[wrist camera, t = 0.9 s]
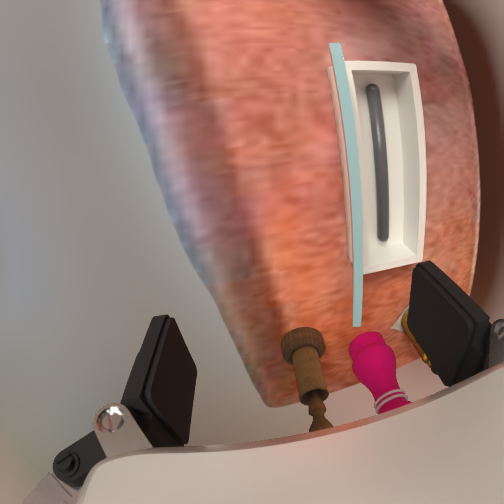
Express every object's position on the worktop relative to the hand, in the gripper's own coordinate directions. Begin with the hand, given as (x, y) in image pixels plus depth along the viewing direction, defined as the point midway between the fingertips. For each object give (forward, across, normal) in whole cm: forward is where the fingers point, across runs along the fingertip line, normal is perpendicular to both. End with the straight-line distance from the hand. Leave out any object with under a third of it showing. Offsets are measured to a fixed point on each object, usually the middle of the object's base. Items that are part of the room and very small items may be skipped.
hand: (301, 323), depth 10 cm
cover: (+16, -8, 0) cm, 18 cm away
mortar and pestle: (+26, -2, +25) cm, 36 cm away
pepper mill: (+26, -13, +30) cm, 41 cm away
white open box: (+25, -14, 0) cm, 29 cm away
